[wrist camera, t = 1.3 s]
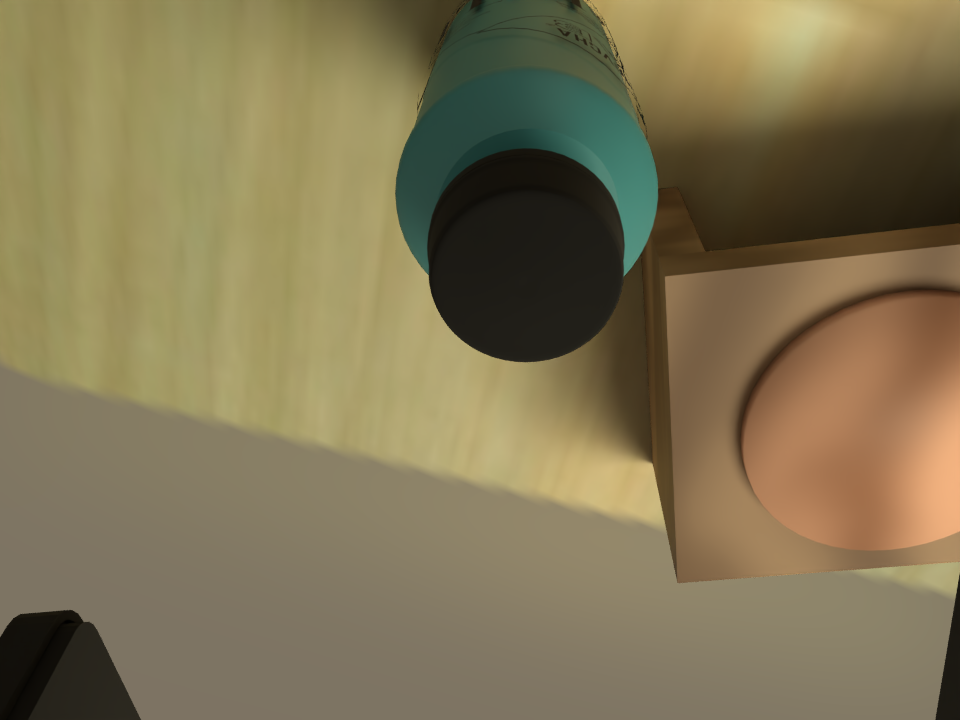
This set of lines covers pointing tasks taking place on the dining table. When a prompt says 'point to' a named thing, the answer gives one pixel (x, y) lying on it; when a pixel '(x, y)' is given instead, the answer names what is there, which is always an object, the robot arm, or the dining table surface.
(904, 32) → the dining table surface
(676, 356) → the wooden u-channel bracket
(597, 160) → the beverage bottle
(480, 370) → the dining table surface
